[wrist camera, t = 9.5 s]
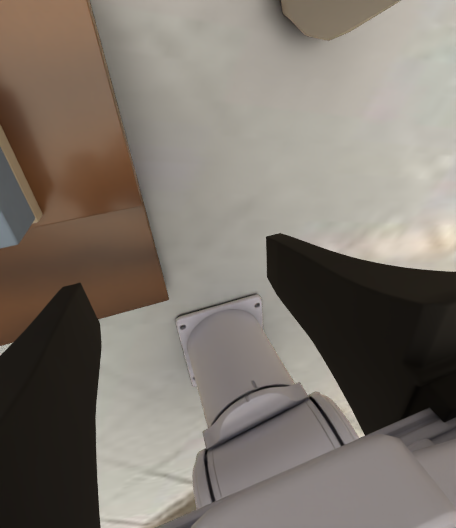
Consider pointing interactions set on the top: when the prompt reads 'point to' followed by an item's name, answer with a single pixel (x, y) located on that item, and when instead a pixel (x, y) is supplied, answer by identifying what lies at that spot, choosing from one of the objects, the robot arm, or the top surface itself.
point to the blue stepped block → (14, 198)
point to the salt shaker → (332, 15)
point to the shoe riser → (69, 170)
